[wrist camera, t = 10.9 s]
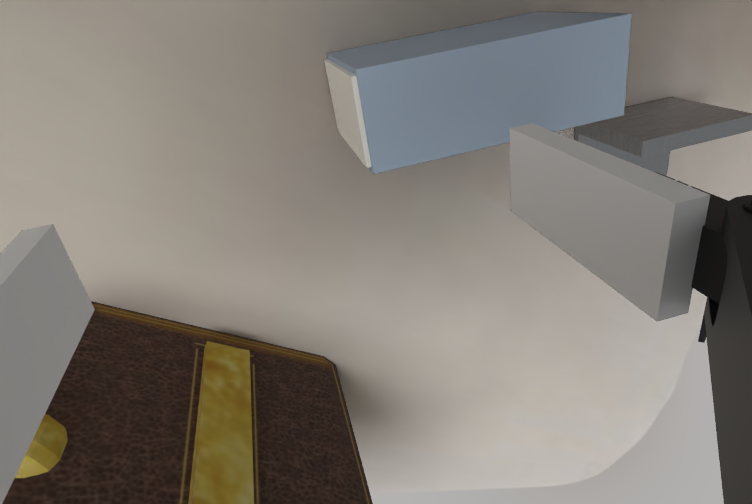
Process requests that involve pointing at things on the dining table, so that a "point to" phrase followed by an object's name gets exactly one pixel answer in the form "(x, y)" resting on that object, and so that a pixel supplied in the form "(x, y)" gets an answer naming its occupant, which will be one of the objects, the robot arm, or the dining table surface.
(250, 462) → the book
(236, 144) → the dining table surface
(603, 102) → the boxed book
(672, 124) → the bookend
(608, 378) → the dining table surface
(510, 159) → the robot arm
